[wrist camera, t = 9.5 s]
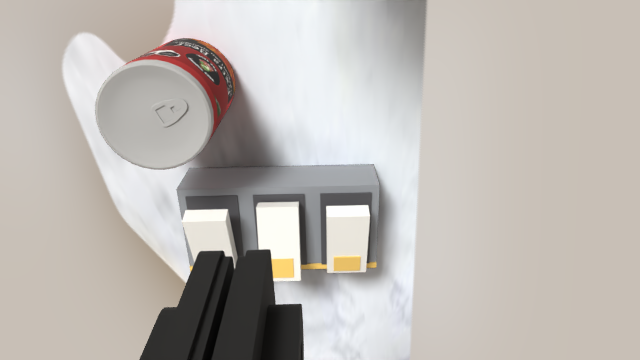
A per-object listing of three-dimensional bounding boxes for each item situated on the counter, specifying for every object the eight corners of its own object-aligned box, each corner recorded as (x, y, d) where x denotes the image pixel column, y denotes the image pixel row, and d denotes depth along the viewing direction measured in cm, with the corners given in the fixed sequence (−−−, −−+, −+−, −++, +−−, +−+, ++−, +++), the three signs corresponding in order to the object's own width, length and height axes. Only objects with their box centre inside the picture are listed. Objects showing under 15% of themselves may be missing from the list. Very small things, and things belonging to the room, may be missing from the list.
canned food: (254, 82, 40) (235, 121, 30) (195, 139, 43) (159, 191, 33) (189, 15, 38) (145, 33, 28) (130, 79, 40) (70, 116, 30)
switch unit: (189, 168, 44) (175, 190, 39) (373, 164, 44) (379, 186, 40) (202, 247, 48) (190, 275, 44) (370, 244, 48) (376, 271, 44)
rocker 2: (258, 202, 40) (255, 208, 38) (298, 201, 40) (298, 207, 38) (262, 274, 42) (260, 282, 40) (301, 273, 42) (300, 281, 40)
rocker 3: (326, 206, 38) (326, 218, 37) (368, 205, 38) (370, 217, 37) (326, 261, 43) (327, 274, 41) (364, 260, 43) (366, 273, 41)
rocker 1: (185, 210, 38) (181, 223, 37) (227, 209, 38) (225, 221, 37) (200, 262, 43) (197, 275, 42) (238, 261, 43) (236, 274, 42)
